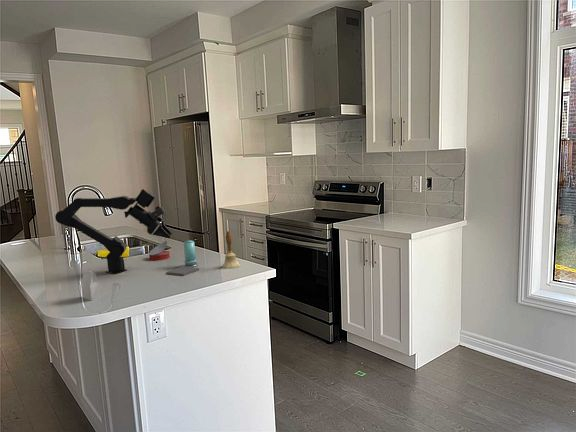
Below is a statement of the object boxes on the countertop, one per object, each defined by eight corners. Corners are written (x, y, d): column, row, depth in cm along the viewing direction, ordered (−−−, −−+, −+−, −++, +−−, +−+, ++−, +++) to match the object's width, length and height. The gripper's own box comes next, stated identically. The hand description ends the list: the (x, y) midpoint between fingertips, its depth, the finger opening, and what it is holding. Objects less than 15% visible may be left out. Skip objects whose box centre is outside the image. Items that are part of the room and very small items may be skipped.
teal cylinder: (191, 263, 200) (189, 242, 199) (181, 262, 203) (179, 241, 202) (199, 260, 205) (197, 240, 204) (189, 259, 208) (188, 239, 206)
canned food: (167, 268, 222) (165, 253, 216) (147, 267, 222) (144, 251, 216) (173, 253, 231) (171, 238, 225) (154, 252, 231) (151, 237, 225)
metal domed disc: (191, 268, 200) (191, 263, 200) (180, 267, 203) (180, 262, 203) (200, 264, 206) (200, 260, 205) (190, 263, 209) (189, 259, 208)
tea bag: (91, 300, 159) (88, 273, 158) (82, 297, 163) (79, 271, 162) (101, 297, 162) (98, 271, 161) (92, 295, 166) (89, 269, 165)
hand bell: (237, 268, 195) (234, 232, 193) (219, 268, 196) (216, 233, 194) (242, 263, 203) (240, 229, 201) (225, 263, 204) (223, 229, 202)
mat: (183, 275, 187) (183, 273, 187) (166, 273, 192) (165, 272, 192) (199, 269, 196) (199, 268, 196) (181, 268, 200) (181, 266, 200)
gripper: (150, 203, 191) (180, 224, 194) (154, 199, 209) (182, 219, 213) (134, 223, 191) (165, 245, 194) (140, 218, 209) (167, 237, 212)
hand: (170, 235), depth 203 cm, fingers open, 9 cm apart
